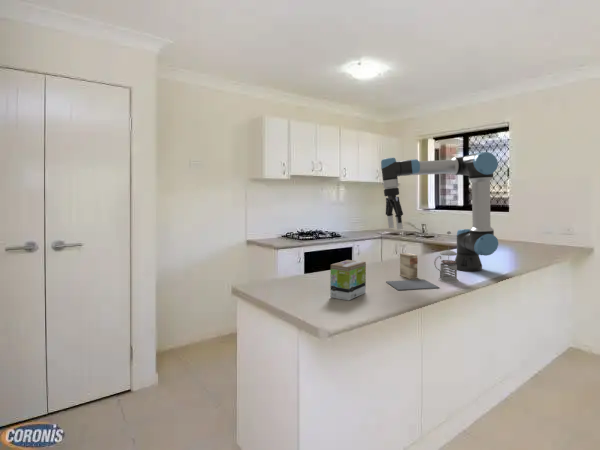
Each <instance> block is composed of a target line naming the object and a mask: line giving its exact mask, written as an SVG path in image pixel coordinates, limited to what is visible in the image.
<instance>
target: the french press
mask: <svg viewBox="0 0 600 450" xmlns="http://www.w3.org/2000/svg"><path fill="white" fill-rule="evenodd" d="M446 234H448V235H451V234H452V231H447V232H446ZM447 248H448V250H443V251H441V252H440V253H439V254H440V255H438V256H437V257H436V258H435V259H434V261H433V262H434V268H436V269H437V271H439V278H438V281H439V282H441V283H451V284H452V283H453V284H454V283H458V282H460V281H459V279H458V273H457V272H458V270H457V264H454V263H456V261H455V260H452V259H450V256H452V257H453V256H457V251H453V250H450V247H447ZM442 256H448V259H443V260H442ZM438 259H440V260H441V263H440V269H439V268H438V266H436V263H437V262H436V261H437V260H438Z"/></svg>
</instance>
